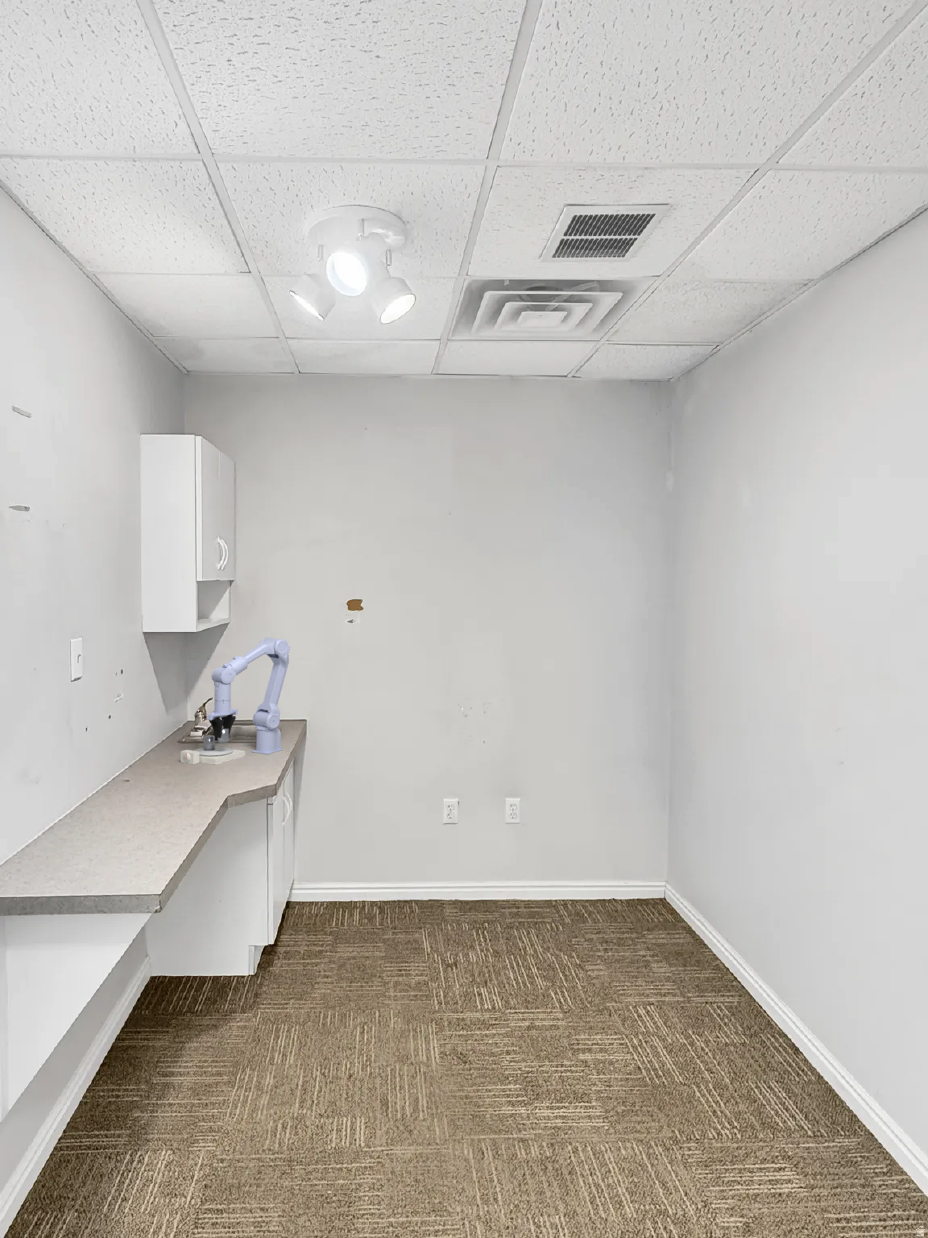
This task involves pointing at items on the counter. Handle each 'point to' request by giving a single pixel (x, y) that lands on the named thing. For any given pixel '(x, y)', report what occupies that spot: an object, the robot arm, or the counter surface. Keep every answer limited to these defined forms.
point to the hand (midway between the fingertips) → (222, 736)
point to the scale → (211, 755)
